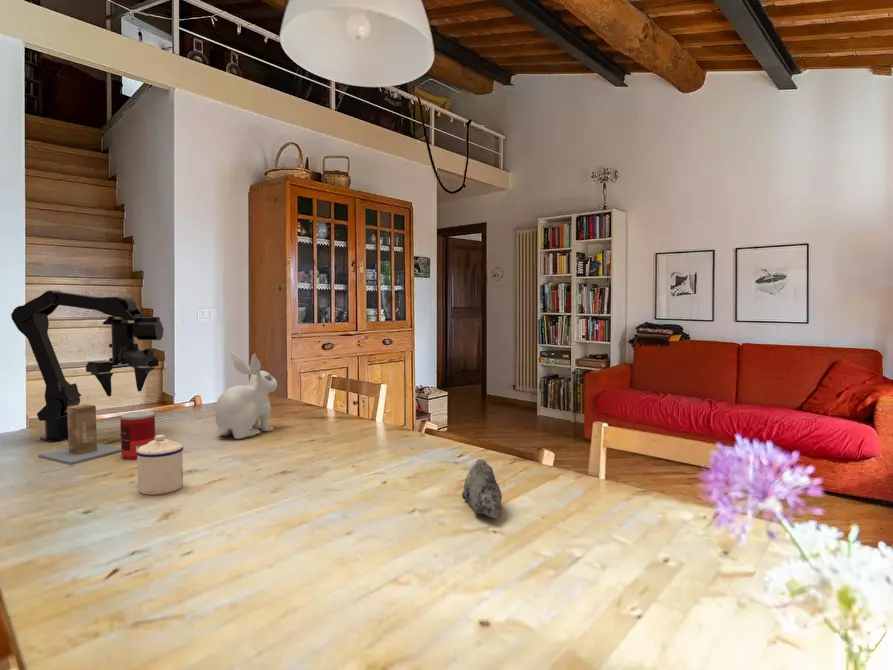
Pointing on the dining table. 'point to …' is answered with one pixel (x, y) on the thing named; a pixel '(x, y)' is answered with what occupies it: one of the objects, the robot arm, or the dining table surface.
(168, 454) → the lidded ceramic jar
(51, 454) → the flat gray square pad
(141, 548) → the dining table surface
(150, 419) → the canned food
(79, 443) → the wooden block
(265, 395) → the rabbit
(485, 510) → the mineral rock
